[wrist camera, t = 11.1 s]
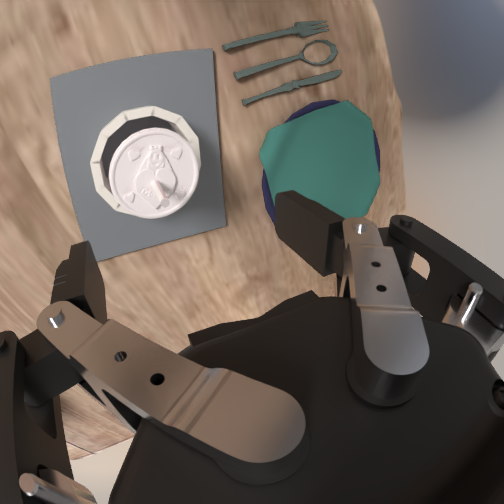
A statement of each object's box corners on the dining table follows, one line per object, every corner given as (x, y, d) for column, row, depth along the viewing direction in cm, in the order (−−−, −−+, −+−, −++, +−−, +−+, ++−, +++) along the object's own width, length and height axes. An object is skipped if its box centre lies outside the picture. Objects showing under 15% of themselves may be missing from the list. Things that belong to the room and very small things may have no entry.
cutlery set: (279, 263, 42) (288, 271, 40) (199, 47, 24) (206, 43, 22) (377, 202, 46) (387, 207, 44) (340, 17, 28) (352, 15, 26)
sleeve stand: (51, 78, 19) (40, 74, 15) (210, 49, 24) (226, 41, 21) (91, 260, 29) (91, 283, 26) (224, 224, 35) (240, 241, 31)
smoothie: (111, 187, 26) (111, 252, 15) (111, 123, 23) (105, 136, 12) (173, 183, 29) (217, 241, 18) (176, 121, 26) (225, 134, 15)
